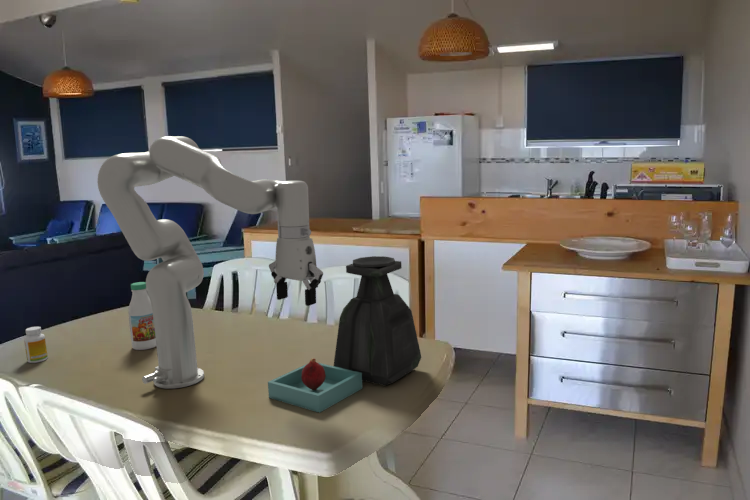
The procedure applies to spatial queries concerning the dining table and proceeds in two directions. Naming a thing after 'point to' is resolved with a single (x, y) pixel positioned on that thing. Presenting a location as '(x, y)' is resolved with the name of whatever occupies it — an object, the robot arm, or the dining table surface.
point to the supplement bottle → (35, 345)
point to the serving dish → (328, 394)
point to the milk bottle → (141, 318)
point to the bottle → (376, 326)
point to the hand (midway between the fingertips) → (296, 301)
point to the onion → (313, 375)
